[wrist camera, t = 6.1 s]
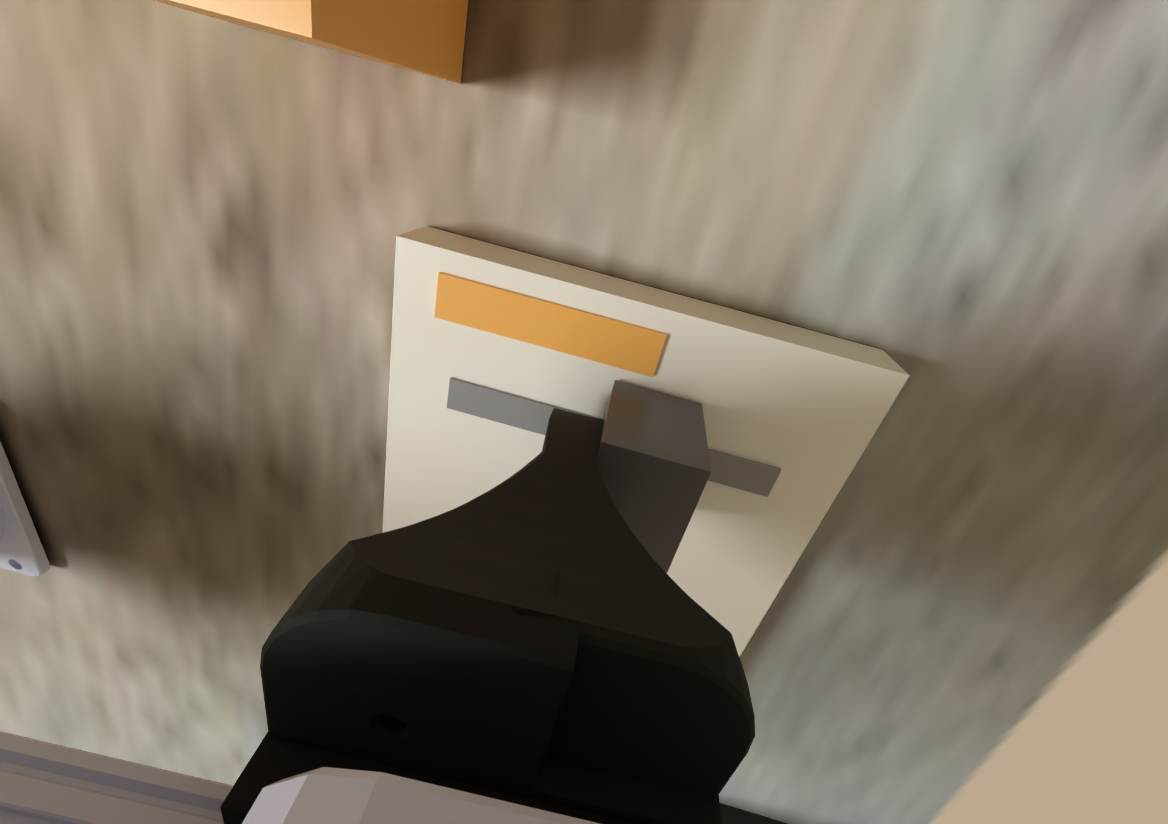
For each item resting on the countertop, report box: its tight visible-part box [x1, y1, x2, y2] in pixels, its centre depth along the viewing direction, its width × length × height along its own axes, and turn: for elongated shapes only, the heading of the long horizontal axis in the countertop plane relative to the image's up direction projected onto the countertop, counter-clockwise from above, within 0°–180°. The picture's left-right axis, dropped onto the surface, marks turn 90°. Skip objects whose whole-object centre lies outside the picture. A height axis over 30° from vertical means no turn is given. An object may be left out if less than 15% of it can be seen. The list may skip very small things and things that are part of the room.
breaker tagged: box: [596, 380, 711, 573], centre depth 11 cm, size 2×3×3 cm, turn 167°
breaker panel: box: [382, 226, 910, 657], centre depth 14 cm, size 11×13×2 cm
